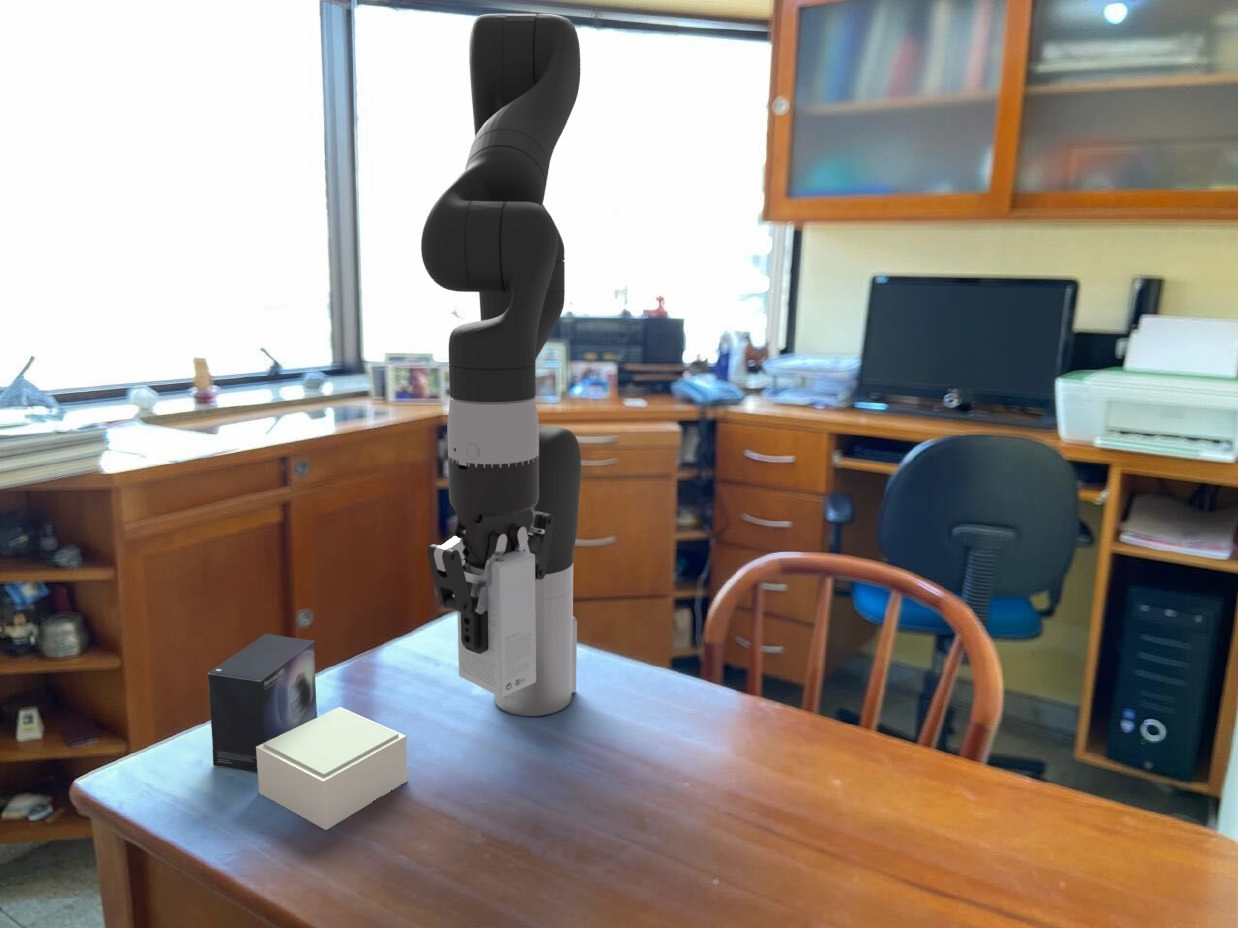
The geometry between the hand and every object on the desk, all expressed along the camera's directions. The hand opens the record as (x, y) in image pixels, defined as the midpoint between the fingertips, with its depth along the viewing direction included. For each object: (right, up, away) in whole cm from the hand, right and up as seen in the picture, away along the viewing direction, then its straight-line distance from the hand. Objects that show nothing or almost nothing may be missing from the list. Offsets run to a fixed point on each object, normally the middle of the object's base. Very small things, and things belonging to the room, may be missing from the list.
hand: (496, 639), depth 80 cm
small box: (-27, -15, +18) cm, 36 cm away
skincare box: (0, -4, +1) cm, 4 cm away
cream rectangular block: (-17, -17, +11) cm, 26 cm away
